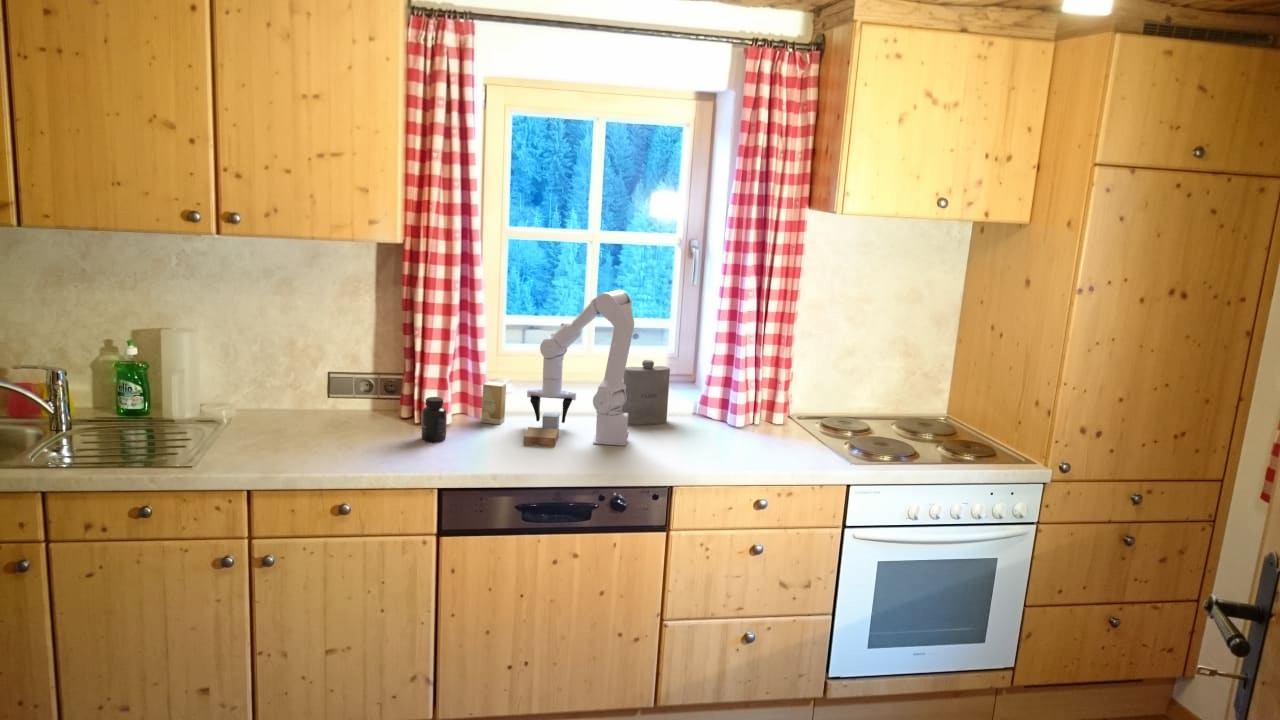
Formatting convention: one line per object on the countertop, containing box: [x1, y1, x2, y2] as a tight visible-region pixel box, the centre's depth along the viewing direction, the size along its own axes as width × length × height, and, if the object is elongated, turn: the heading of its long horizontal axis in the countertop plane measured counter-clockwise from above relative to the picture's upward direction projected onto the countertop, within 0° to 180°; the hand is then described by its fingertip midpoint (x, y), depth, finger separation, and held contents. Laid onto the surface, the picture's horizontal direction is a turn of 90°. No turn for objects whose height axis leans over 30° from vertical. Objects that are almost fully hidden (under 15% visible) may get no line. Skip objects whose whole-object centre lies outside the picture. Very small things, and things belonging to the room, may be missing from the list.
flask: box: [622, 359, 671, 426], centre depth 293 cm, size 15×6×20 cm, turn 110°
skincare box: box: [480, 380, 507, 425], centre depth 285 cm, size 6×4×12 cm
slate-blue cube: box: [541, 411, 560, 429], centre depth 283 cm, size 4×4×4 cm
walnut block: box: [522, 426, 560, 448], centre depth 270 cm, size 9×9×3 cm
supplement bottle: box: [421, 396, 447, 444], centre depth 265 cm, size 7×7×12 cm
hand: (550, 421), depth 283 cm, fingers open, 7 cm apart
